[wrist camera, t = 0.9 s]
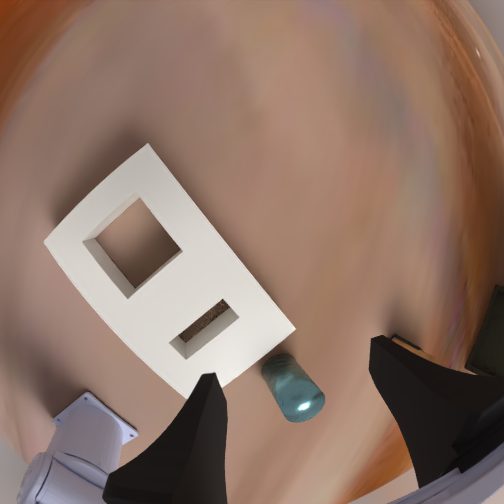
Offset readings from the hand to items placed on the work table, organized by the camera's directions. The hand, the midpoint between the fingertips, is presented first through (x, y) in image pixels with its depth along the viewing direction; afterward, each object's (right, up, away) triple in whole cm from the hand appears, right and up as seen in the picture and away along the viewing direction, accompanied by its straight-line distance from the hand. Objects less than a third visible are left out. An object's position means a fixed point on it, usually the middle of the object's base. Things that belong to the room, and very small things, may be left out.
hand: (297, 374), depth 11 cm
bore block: (-10, +3, +13) cm, 16 cm away
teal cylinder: (+1, -7, +16) cm, 18 cm away
